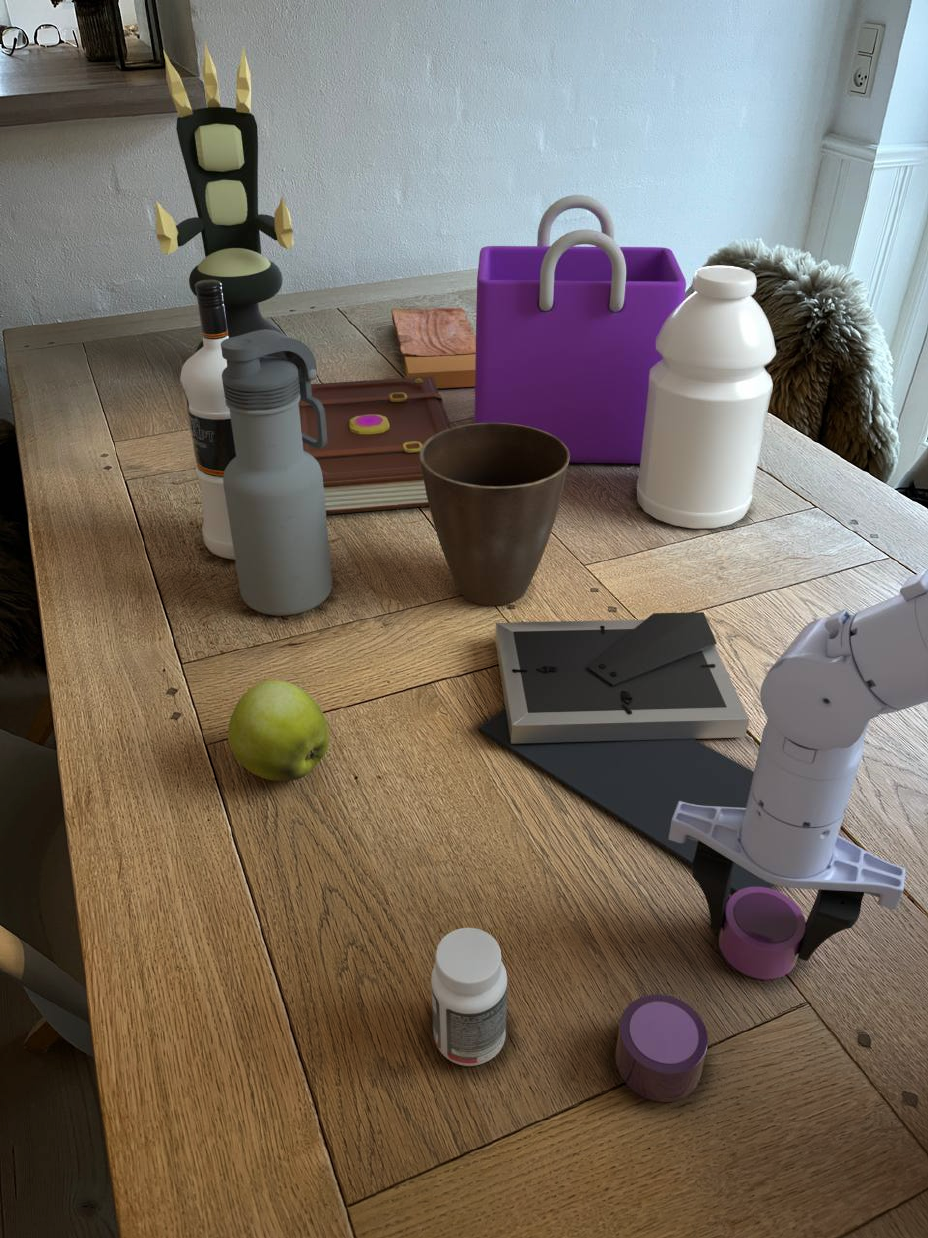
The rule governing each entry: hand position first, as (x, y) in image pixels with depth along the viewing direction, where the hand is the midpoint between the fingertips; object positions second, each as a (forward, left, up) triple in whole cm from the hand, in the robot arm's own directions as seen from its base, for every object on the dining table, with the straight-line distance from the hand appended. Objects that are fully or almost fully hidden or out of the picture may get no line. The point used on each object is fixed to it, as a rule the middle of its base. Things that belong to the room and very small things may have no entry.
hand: (761, 934), depth 70 cm
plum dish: (0, 0, -1) cm, 1 cm away
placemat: (+16, -9, -2) cm, 18 cm away
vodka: (+72, -8, -2) cm, 72 cm away
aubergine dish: (0, +12, -2) cm, 12 cm away
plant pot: (+45, -21, -2) cm, 50 cm away
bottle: (+40, -52, -2) cm, 66 cm away
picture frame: (+25, -16, -1) cm, 30 cm away
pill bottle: (+10, +19, -2) cm, 22 cm away
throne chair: (+118, -41, -2) cm, 125 cm away
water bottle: (+60, -5, -2) cm, 60 cm away
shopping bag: (+63, -56, -2) cm, 84 cm away
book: (+79, -33, -2) cm, 86 cm away
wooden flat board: (+99, -66, -2) cm, 119 cm away
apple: (+39, +12, -2) cm, 41 cm away
